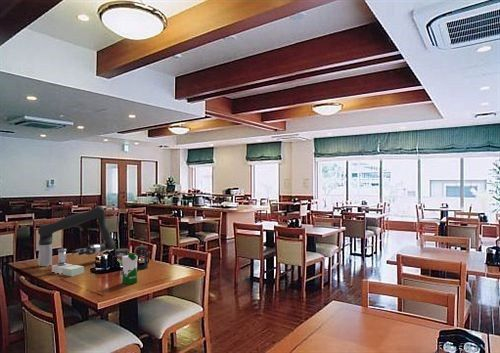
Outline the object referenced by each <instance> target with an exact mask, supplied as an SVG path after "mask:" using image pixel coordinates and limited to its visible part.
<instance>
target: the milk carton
mask: <svg viewBox="0 0 500 353" xmlns="http://www.w3.org/2000/svg"><path fill="white" fill-rule="evenodd" d="M137 259H138V256H136V252H135V253H134V252H130V253H129V252H128V255H127V256H122V262H123V269H122V280H121V281H122V282H121V283H122V284H125V285H127V286H129V285H133V284H137V283H138V269H137Z"/></svg>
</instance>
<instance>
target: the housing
mask: <svg viewBox="0 0 500 353" xmlns="http://www.w3.org/2000/svg"><path fill="white" fill-rule="evenodd" d="M57 252H58V260H57V261H58V263H57V265H58V266H65V265H67V264H68V263H67V253H66V252H67V248H58V249H57Z"/></svg>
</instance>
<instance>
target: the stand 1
mask: <svg viewBox="0 0 500 353" xmlns="http://www.w3.org/2000/svg"><path fill="white" fill-rule="evenodd" d="M69 266H73V264H71V263H67V265H65V266H58V264H53V265H51V273H52V272H55V273H54V274H57V273H59V274H58V275H62V274H61V273H63V268H65V267H69Z"/></svg>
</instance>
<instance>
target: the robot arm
mask: <svg viewBox="0 0 500 353" xmlns="http://www.w3.org/2000/svg"><path fill="white" fill-rule="evenodd" d="M105 214H106V213H105V207H103V206H101V205H95V207H94V208H93V209H90V210H88V211H86V212H80V213H74V214H71V215H69V216H66V217H64V218H61V219H60V220H58V221H56V222H52V223H46V224H45V223H44V224H42V225H41V226H39V228H38V230H37V234H38V235H39V240H38V254H37V255H38V257H37V258H38V265H39V266H38V267H40V266H46V267H49V265H51V266H53V236H54V235H53V234H54V233H57V232H58V231H62V230H66V229H69V228H72V227H75V226H78V225H81V224H83V223H86V222H89V221H92V220H95V219H96V220H97V224H98V227H99V232H100V235H101V238H102V241H105V242H100V243H96V244H89V245H87V246H86V247H85V248H75V249H74V250H72V251H71V254H72V255H73V254H78V256H80V255H81V256H82V255H88V256H90V255H94V254H98V253H101V252H104V251H113V250H114V249H116V242H115V240H114V238H113V237H112V235H111V232H110V229H109V226H108V223H107V221H106V215H105ZM113 248H114V249H113ZM112 249H113V250H112Z"/></svg>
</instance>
